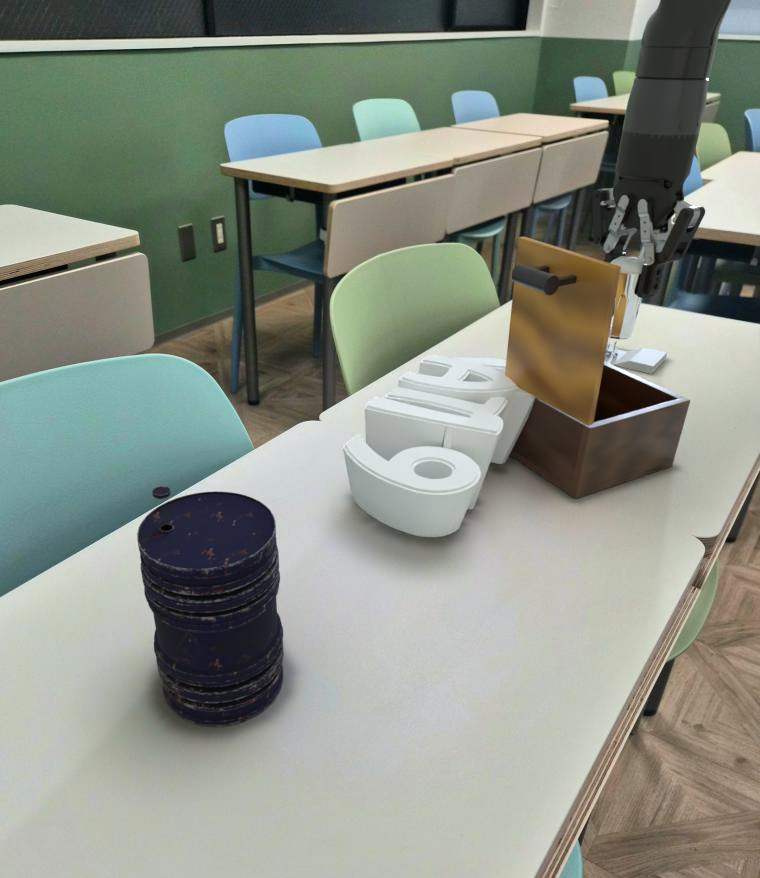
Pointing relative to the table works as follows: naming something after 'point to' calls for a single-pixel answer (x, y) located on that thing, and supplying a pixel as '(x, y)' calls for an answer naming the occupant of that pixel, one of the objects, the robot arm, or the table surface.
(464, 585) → the table surface
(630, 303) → the milkshake
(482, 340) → the table surface
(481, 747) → the table surface
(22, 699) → the table surface
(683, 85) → the robot arm
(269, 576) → the navy speckled cylinder
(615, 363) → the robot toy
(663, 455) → the brown wooden box
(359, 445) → the white letter sign
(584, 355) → the lid
